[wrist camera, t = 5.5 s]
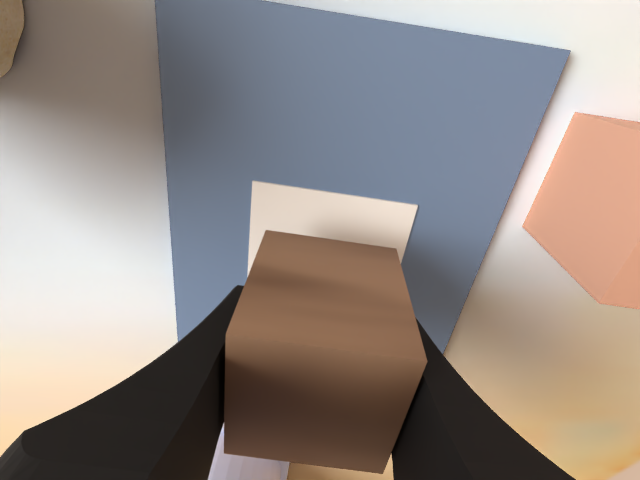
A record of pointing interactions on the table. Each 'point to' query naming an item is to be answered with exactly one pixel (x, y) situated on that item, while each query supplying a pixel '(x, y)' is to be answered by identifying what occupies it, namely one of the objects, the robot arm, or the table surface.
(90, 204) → the table surface
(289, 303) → the walnut block
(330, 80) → the board
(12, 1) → the flower pot
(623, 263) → the terracotta block
